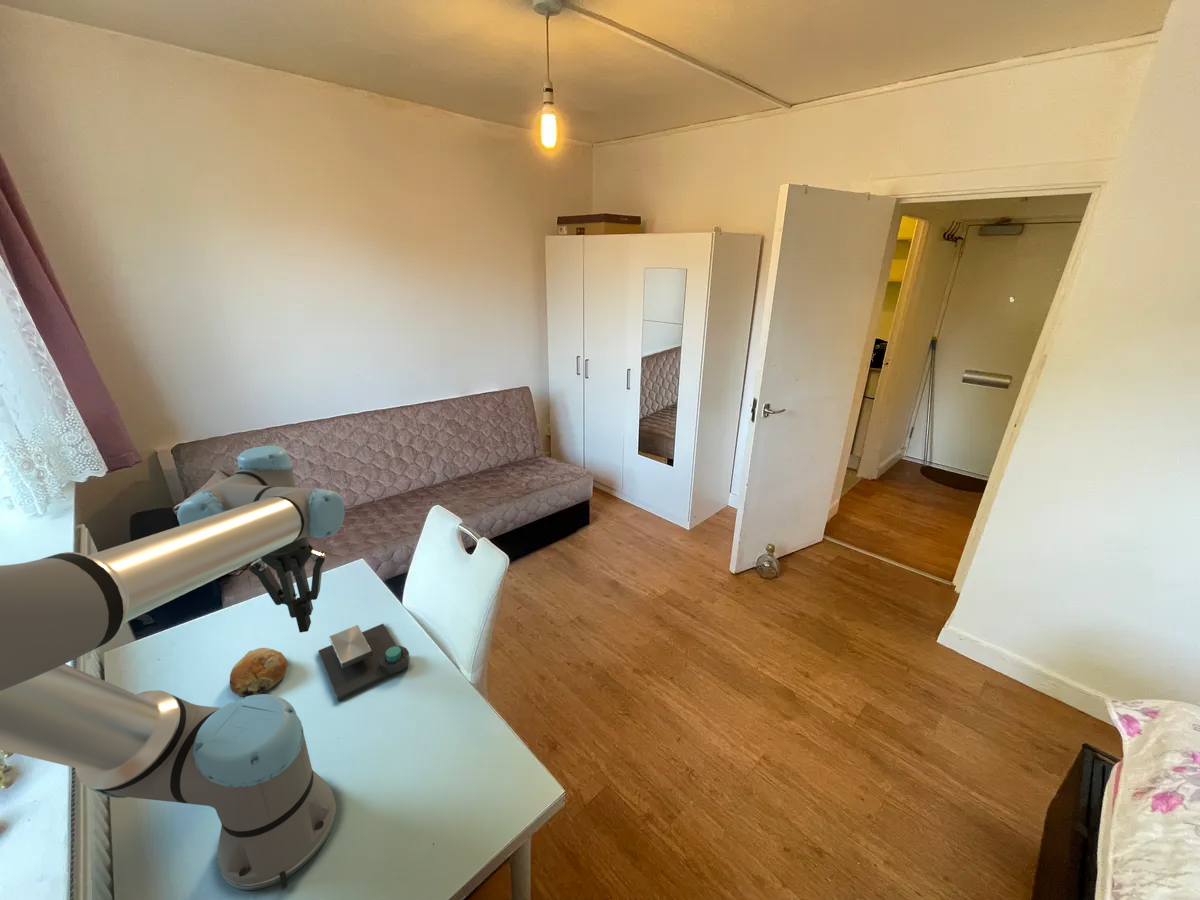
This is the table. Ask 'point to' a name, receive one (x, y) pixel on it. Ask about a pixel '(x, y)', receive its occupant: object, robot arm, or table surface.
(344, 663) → the silver metal plate
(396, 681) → the table surface
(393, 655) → the tare button
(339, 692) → the scale
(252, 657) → the bread roll
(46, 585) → the robot arm
